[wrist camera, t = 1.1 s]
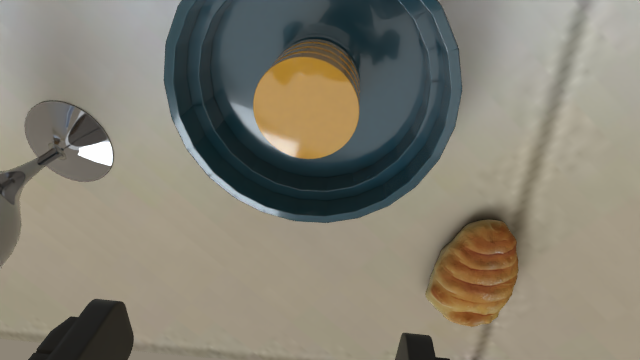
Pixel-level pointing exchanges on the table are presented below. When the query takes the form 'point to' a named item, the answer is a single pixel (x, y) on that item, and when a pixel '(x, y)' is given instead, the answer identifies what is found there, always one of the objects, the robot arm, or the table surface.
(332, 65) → the tan ridged cylinder
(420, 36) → the bowl
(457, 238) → the pastry
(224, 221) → the table surface
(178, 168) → the table surface
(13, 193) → the wine glass
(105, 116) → the table surface
